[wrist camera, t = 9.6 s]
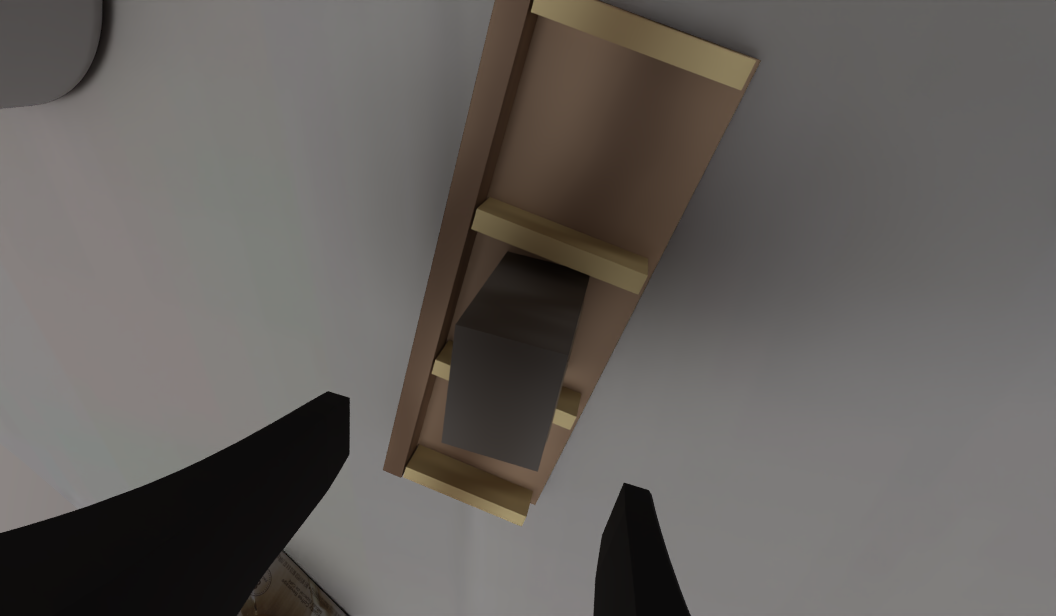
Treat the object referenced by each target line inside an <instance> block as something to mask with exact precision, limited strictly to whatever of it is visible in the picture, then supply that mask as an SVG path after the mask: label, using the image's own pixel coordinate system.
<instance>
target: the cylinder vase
mask: <svg viewBox="0 0 1056 616" xmlns="http://www.w3.org/2000/svg"><path fill="white" fill-rule="evenodd" d="M101 26H102V0H0V109H2V108H13V107H24V106H33V105H40V104H44V103H47V102H50V101H53V100H55V99H58V98H59V97H61V96H63V95H65V94H66V93H68V92H69V91H70V90H72V89H73V88H74V87H75V86H76V85H77V84H78V83H79V82H80V81H81V80H82V78H83V77H84V76H85V74H86V72H87V71H88V69H89V67H90V66H91V63H92V61H93V59H94V56H95V53H96V50H97V47H98V43H99V39H100V33H101Z"/></svg>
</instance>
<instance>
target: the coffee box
mask: <svg viewBox="0 0 1056 616" xmlns="http://www.w3.org/2000/svg"><path fill="white" fill-rule="evenodd" d="M237 616H347V615H346V614H345V613H344V612H343V611H342V610H341V609H340V608H339V607H338V606H337V605H336V604H335V603H334V602H333V601H332V600H331V599H330V598H329V597H328V596H327V595H326V594H325V593H324V592H323V591H322V590H321V589H320V588H319V587H318V586H317V585H316V584H315V583H314V582H313V581H312V580H311V579H310V578H309V577H308V576H307V575H306V574H305V573H304V572H303V571H302V570H301V569H300V568H299V567H298V566H297V565H296V564H295V563H294V562H293V561H292V560H291V559H290V558H289V557H288V556H287V555H286V554H285V553H284V552H283V551H281V553H280V554H279V555H278V557H277V558H276V559H275V560H274V562H273V563H272V564H271V566H270V567H269V568H268V570H267V571H266V573H265V574H264V575H263V577H262V578H261V580H260V581H259V582H258V584H257V585H256V587H255V588H254V590H253V592H252V593H251V595H250V596H249V598H248V599H247V601H246V603H245V604H244V606H243V607H242V609H241V610H240V612H239V614H238V615H237Z"/></svg>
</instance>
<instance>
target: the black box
mask: <svg viewBox="0 0 1056 616" xmlns="http://www.w3.org/2000/svg"><path fill="white" fill-rule="evenodd" d="M589 278H590V276H589V275H587V274H584V273H582V272H579V271H577V270H574V269H572V268H569V267H566V266H564V265H560V264H556V263H552V262H548V261H544V260H540V259H536V258H532V257H528V256H524V255H520V254H516V253H512V252H508V251H507V253H506V254H505V255H504V257H503V258H502V260H501V261H500V262H499V264H498V265H497V267H496V268H495V269H494V271H493V272H492V274H491V275H490V276H489V278H488V279H487V281H486V282H485V284H484V285H483V286H482V288H481V289H480V291H479V292H478V293H477V295H476V296H475V298H474V299H473V300H472V302H471V303H470V305H469V306H468V307H467V309H466V310H465V312H464V313H463V314H462V316H461V317H460V319H459V320H458V321H457V323H456V324H455V331H454V340H453V348H452V357H451V365H450V374H449V382H448V391H447V399H446V408H445V416H444V424H443V433H442V441H441V443H444V444H447V445H451V446H454V447H457V448H460V449H464V450H467V451H470V452H474V453H477V454H480V455H484V456H487V457H490V458H494V459H497V460H500V461H503V462H507V463H510V464H513V465H517V466H520V467H523V468H527V469H530V470H533V471H537V472H538V469H539V466H540V462H541V458H542V454H543V451H544V447H545V443H546V442H547V441H548V438H549V434H550V430H551V426H552V422H553V419H554V415H555V411H556V407H557V404H558V400H559V396H560V392H561V389H562V385H563V381H564V377H565V374H566V370H567V366H568V362H569V359H570V355H571V351H572V347H573V344H574V340H575V336H576V332H577V328H578V325H579V321H580V317H581V313H582V309H583V306H584V302H585V301H584V297H585V293H586V289H587V286H588V282H589Z"/></svg>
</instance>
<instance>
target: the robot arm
mask: <svg viewBox="0 0 1056 616" xmlns="http://www.w3.org/2000/svg"><path fill="white" fill-rule="evenodd" d="M349 445H350V398H348V397H345V396H342V395H339V394H335V393H332V392H329V391H328V392H326V393H324V394H322V395H320V396H318V397H317V398H315V399H313V400H311V401H310V402H308V403H306V404H304V405H303V406H301V407H299V408H298V409H296V410H294V411H292V412H291V413H289V414H287V415H285V416H284V417H282V418H280V419H279V420H277V421H275V422H273V423H272V424H270V425H268V426H266V427H264V428H262V429H261V430H259V431H257V432H255V433H253V434H252V435H250V436H248V437H246V438H244V439H243V440H241V441H239V442H237V443H235V444H233V445H231V446H229V447H227V448H225V449H223V450H221V451H219V452H217V453H215V454H213V455H211V456H209V457H207V458H205V459H203V460H201V461H199V462H197V463H195V464H193V465H191V466H188V467H186V468H184V469H182V470H180V471H177V472H175V473H173V474H170V475H168V476H166V477H163V478H161V479H159V480H156V481H154V482H152V483H149V484H147V485H144V486H142V487H139V488H136V489H134V490H131V491H128V492H126V493H123V494H120V495H117V496H115V497H112V498H109V499H107V500H104V501H101V502H98V503H96V504H93V505H90V506H87V507H84V508H81V509H78V510H75V511H72V512H69V513H66V514H63V515H60V516H57V517H54V518H50V519H47V520H44V521H41V522H37V523H34V524H31V525H27V526H24V527H20V528H17V529H13V530H10V531H6V532H3V533H0V616H237V615H238V614H239V612H240V610H241V609H242V607H243V606H244V604H245V603H246V601H247V599H248V598H249V596H250V595H251V593H252V592H253V590H254V588H255V587H256V585H257V584H258V582H259V581H260V580H261V578H262V577H263V575H264V574H265V573H266V571H267V570H268V568H269V567H270V566H271V564H272V563H273V562H274V560H275V559H276V558H277V557H278V555H279V554H280V553H281V551H282V550H283V549H284V547H285V546H286V545H287V544H288V542H289V541H290V540H291V538H292V537H293V536H294V534H295V533H296V532H297V531H298V529H299V528H300V527H301V525H302V524H303V523H304V521H305V520H306V519H307V518H308V516H309V515H310V514H311V512H312V511H313V510H314V508H315V507H316V506H317V504H318V503H319V502H320V500H321V499H322V498H323V496H324V495H325V494H326V492H327V491H328V490H329V488H330V486H331V485H332V483H333V481H334V480H335V478H336V477H337V475H338V473H339V471H340V470H341V468H342V466H343V465H344V463H345V461H346V459H347V458H348V456H349ZM594 616H691V615H690V613H689V610H688V608H687V605H686V603H685V600H684V597H683V595H682V592H681V590H680V587H679V584H678V581H677V578H676V575H675V573H674V570H673V567H672V564H671V561H670V558H669V555H668V552H667V549H666V546H665V542H664V539H663V536H662V533H661V529H660V526H659V522H658V518H657V515H656V511H655V507H654V503H653V498H652V495H651V493H650V491H649V490H647V489H643V488H640V487H637V486H634V485H630V484H627V483H624V484H623V486H622V488H621V491H620V493H619V496H618V498H617V501H616V503H615V505H614V508H613V510H612V513H611V515H610V517H609V520H608V522H607V525H606V527H605V530H604V532H603V534H602V539H601V545H600V552H599V558H598V565H597V571H596V578H595V597H594Z"/></svg>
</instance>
